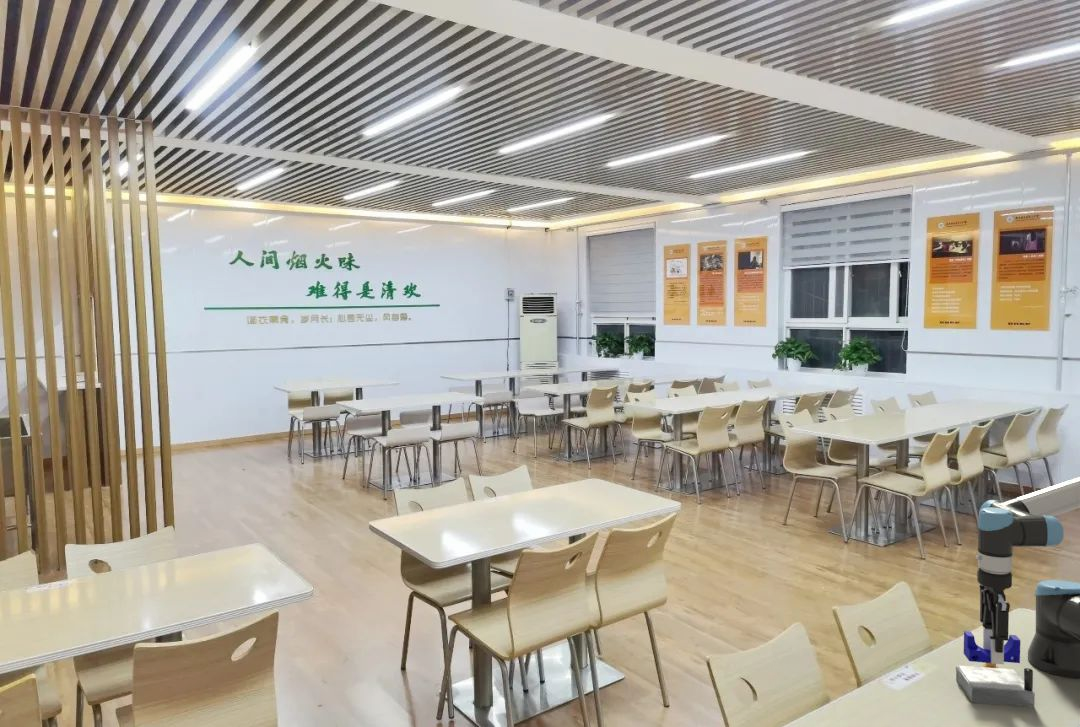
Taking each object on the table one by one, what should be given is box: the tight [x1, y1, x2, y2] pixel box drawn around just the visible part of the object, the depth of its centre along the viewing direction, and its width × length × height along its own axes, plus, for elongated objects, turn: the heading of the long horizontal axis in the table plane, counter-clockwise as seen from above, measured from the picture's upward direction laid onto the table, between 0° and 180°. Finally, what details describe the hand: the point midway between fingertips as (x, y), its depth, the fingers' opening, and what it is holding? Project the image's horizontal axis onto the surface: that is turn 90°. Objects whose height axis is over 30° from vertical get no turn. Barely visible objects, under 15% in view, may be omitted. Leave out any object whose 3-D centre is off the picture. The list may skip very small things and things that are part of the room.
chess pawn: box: [982, 663, 999, 668], centre depth 198 cm, size 3×3×4 cm
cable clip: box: [963, 630, 1021, 664], centre depth 187 cm, size 12×4×6 cm, turn 76°
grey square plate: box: [955, 665, 1036, 708], centre depth 187 cm, size 14×12×9 cm
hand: (993, 658), depth 187 cm, fingers closed on cable clip, 4 cm apart
